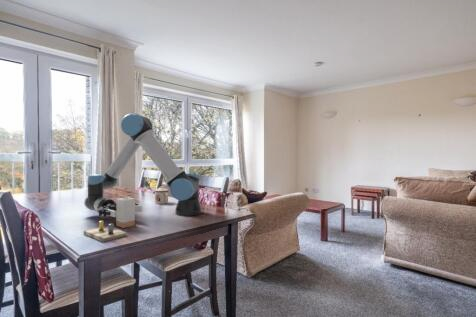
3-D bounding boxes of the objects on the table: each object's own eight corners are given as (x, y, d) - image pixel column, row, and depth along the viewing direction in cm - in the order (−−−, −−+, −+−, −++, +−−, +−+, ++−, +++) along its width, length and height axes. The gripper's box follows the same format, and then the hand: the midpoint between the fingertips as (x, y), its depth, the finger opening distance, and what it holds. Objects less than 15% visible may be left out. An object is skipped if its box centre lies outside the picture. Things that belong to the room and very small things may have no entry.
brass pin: (104, 229, 120) (104, 220, 120) (102, 230, 118) (102, 221, 118) (100, 229, 120) (100, 220, 120) (97, 230, 118) (97, 221, 118)
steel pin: (114, 232, 115) (114, 223, 115) (112, 234, 113) (112, 224, 113) (109, 232, 115) (109, 223, 115) (107, 234, 113) (107, 224, 113)
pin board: (126, 235, 117) (126, 232, 116) (103, 241, 108) (103, 238, 108) (106, 229, 126) (106, 225, 126) (83, 234, 118) (83, 230, 118)
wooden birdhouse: (152, 202, 189) (152, 186, 189) (164, 201, 196) (164, 185, 195) (161, 205, 181) (161, 187, 180) (173, 203, 187) (173, 186, 187)
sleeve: (134, 225, 133) (134, 198, 132) (123, 227, 128) (123, 200, 128) (127, 223, 136) (127, 197, 136) (116, 225, 131) (116, 198, 131)
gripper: (126, 209, 153) (150, 214, 141) (79, 217, 133) (102, 224, 120) (126, 195, 153) (150, 200, 140) (79, 202, 132) (103, 208, 120)
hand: (128, 211), depth 130 cm, fingers open, 13 cm apart
